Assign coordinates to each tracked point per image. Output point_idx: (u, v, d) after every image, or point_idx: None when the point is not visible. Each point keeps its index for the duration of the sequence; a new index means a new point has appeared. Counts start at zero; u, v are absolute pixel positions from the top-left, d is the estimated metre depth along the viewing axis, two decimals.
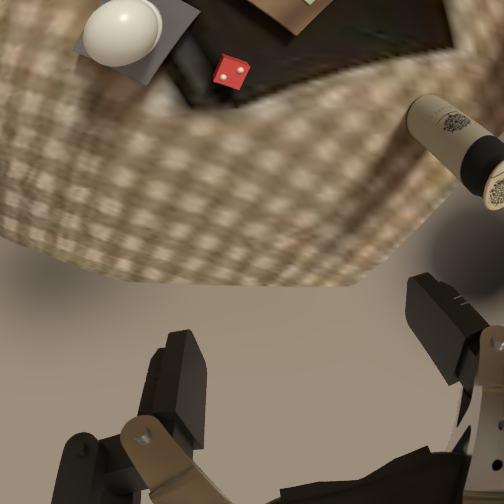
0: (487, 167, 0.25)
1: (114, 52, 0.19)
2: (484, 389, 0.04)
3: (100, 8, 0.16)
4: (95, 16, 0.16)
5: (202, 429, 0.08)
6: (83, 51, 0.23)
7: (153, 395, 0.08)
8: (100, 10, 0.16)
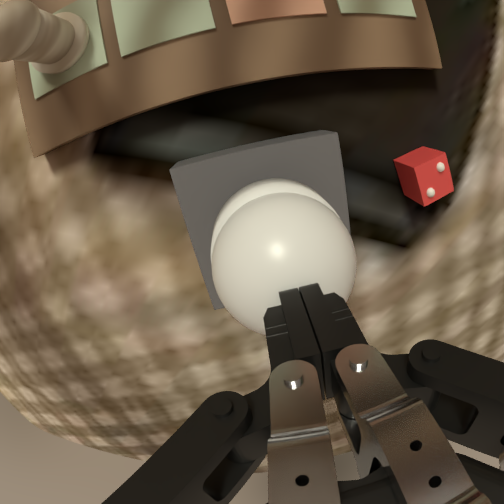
0: None
1: None
2: (372, 423, 0.05)
3: (222, 267, 0.13)
4: (231, 289, 0.12)
5: None
6: None
7: (281, 347, 0.09)
8: (229, 274, 0.12)
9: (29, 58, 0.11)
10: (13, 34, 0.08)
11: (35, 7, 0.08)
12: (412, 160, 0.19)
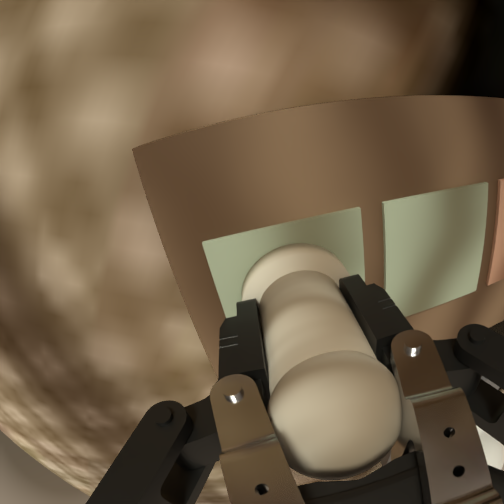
0: None
1: None
2: (415, 403, 0.05)
3: None
4: None
5: None
6: None
7: (231, 359, 0.09)
8: None
9: None
10: None
11: None
12: None
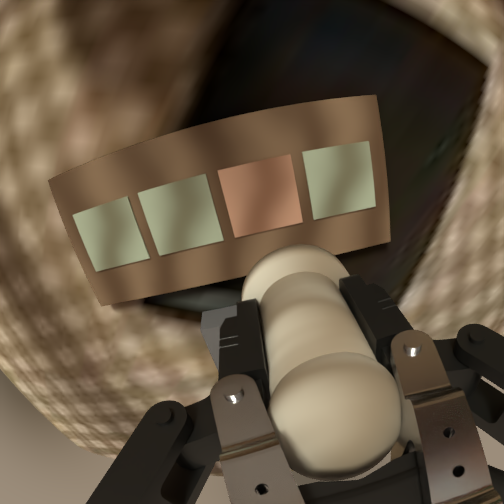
0: None
1: None
2: (415, 403, 0.05)
3: None
4: None
5: None
6: None
7: (231, 359, 0.09)
8: None
9: None
10: None
11: None
12: None
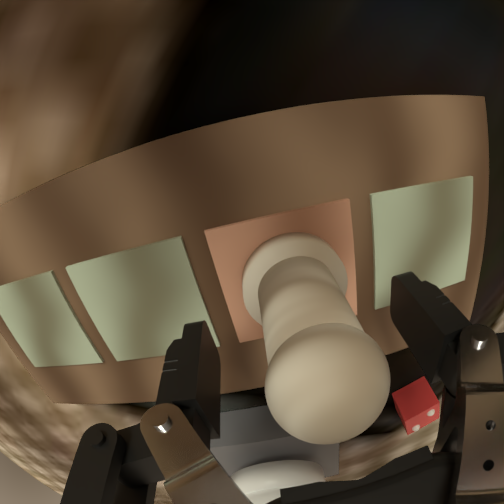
0: None
1: None
2: (468, 390, 0.05)
3: None
4: None
5: (218, 419, 0.09)
6: None
7: (171, 385, 0.08)
8: None
9: None
10: None
11: None
12: (407, 404, 0.19)
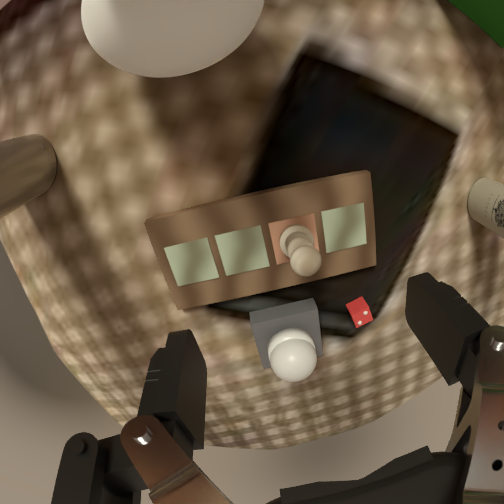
0: None
1: (305, 377, 0.40)
2: (484, 389, 0.04)
3: (275, 364, 0.41)
4: (278, 370, 0.40)
5: (202, 429, 0.08)
6: None
7: (153, 395, 0.08)
8: (278, 367, 0.40)
9: None
10: None
11: None
12: (353, 308, 0.46)
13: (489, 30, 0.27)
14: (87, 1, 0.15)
